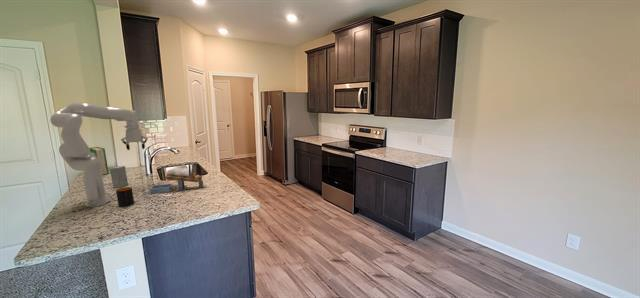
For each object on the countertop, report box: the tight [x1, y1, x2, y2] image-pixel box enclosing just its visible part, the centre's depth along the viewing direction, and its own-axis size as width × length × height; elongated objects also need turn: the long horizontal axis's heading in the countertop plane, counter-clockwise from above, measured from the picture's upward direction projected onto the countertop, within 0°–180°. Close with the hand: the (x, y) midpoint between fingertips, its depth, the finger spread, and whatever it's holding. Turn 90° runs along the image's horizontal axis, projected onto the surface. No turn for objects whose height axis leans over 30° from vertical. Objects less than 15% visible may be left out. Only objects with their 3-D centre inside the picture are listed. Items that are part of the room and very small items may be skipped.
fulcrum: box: [175, 180, 189, 193], centre depth 202 cm, size 6×12×8 cm, turn 17°
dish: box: [149, 183, 173, 195], centre depth 198 cm, size 9×13×4 cm
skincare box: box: [109, 165, 129, 189], centre depth 210 cm, size 8×7×16 cm
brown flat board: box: [164, 171, 203, 184], centre depth 206 cm, size 24×17×4 cm
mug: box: [115, 186, 135, 208], centre depth 172 cm, size 8×12×10 cm
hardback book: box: [88, 146, 110, 176], centre depth 248 cm, size 18×7×24 cm, turn 55°
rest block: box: [198, 180, 204, 189], centre depth 206 cm, size 5×2×4 cm, turn 17°
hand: (136, 149), depth 206 cm, fingers open, 9 cm apart
